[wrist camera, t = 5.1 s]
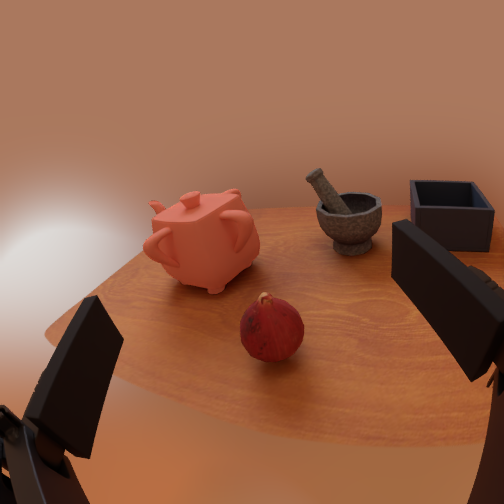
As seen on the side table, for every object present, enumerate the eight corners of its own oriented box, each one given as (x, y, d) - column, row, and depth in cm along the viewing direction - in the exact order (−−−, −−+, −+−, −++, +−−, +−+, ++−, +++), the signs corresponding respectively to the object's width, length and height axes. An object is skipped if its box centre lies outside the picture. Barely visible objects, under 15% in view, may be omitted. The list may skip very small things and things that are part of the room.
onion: (269, 388, 24) (248, 329, 20) (240, 353, 29) (217, 295, 25) (319, 356, 26) (310, 293, 22) (286, 327, 31) (272, 267, 27)
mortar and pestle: (390, 234, 42) (386, 161, 36) (373, 266, 36) (368, 179, 31) (329, 227, 49) (318, 161, 43) (303, 254, 43) (289, 178, 38)
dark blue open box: (471, 216, 40) (473, 181, 37) (488, 252, 31) (494, 210, 28) (410, 214, 46) (409, 180, 43) (414, 249, 37) (415, 207, 34)
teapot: (274, 284, 38) (252, 191, 32) (164, 316, 37) (124, 231, 31) (252, 236, 53) (234, 168, 47) (171, 261, 52) (146, 196, 46)
